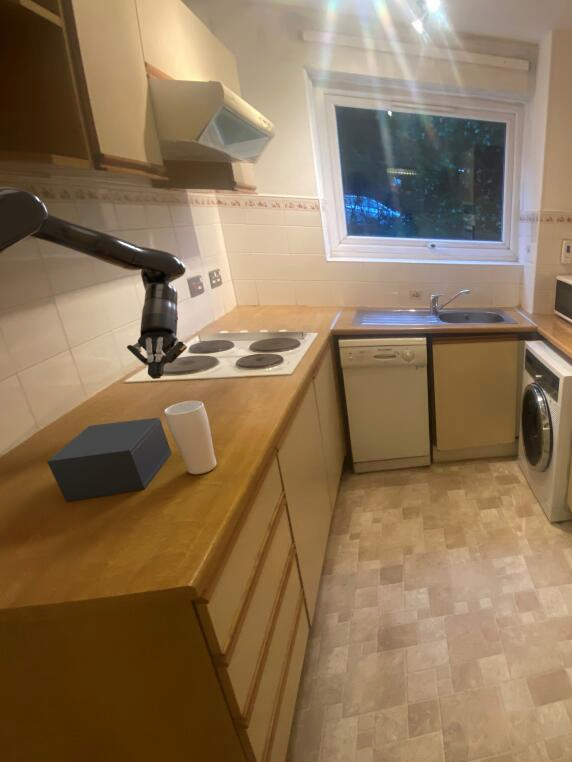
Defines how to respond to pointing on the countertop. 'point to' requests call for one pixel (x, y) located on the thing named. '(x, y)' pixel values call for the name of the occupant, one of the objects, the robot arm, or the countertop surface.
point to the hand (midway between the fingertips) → (155, 377)
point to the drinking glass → (192, 435)
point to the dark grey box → (110, 459)
